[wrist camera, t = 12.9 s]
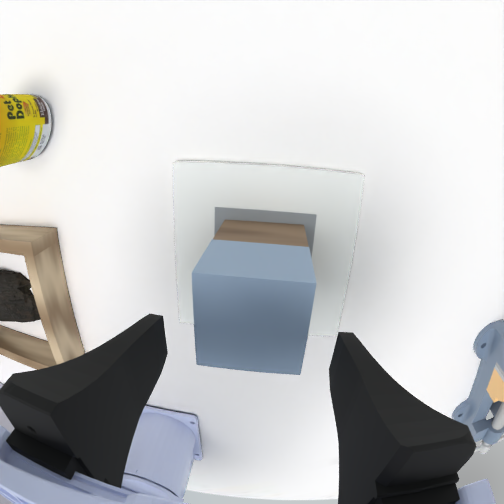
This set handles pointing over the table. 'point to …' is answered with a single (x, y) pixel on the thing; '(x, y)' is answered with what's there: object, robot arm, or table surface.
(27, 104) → the supplement bottle
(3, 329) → the plank frame
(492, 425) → the vise
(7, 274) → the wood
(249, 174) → the board
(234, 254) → the blue block
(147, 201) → the table surface
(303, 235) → the walnut block
